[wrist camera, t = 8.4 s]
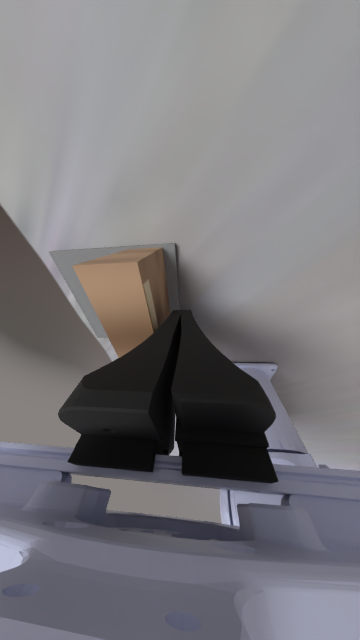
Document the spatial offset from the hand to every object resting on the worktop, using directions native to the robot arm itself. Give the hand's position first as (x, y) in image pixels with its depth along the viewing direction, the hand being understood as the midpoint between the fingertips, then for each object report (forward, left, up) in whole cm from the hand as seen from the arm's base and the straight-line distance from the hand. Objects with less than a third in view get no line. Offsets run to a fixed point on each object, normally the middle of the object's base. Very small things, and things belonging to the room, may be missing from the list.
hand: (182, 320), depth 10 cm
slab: (0, +3, -4) cm, 5 cm away
